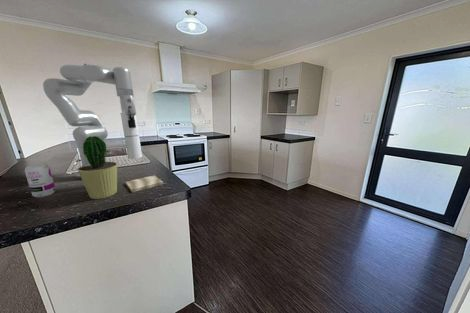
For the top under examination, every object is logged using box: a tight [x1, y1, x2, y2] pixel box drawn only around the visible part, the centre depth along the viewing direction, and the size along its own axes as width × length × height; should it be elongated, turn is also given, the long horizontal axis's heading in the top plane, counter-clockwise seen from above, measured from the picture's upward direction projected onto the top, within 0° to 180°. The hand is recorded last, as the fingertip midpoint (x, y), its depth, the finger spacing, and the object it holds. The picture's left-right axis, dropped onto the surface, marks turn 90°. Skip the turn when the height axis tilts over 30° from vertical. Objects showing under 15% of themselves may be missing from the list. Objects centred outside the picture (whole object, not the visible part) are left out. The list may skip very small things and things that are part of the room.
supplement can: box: [24, 163, 57, 198], centre depth 86 cm, size 8×8×15 cm
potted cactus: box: [77, 136, 118, 200], centre depth 85 cm, size 15×15×30 cm
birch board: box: [125, 174, 164, 193], centre depth 101 cm, size 16×14×2 cm
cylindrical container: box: [120, 112, 143, 160], centre depth 98 cm, size 7×7×25 cm
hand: (130, 127), depth 97 cm, fingers closed on cylindrical container, 7 cm apart
